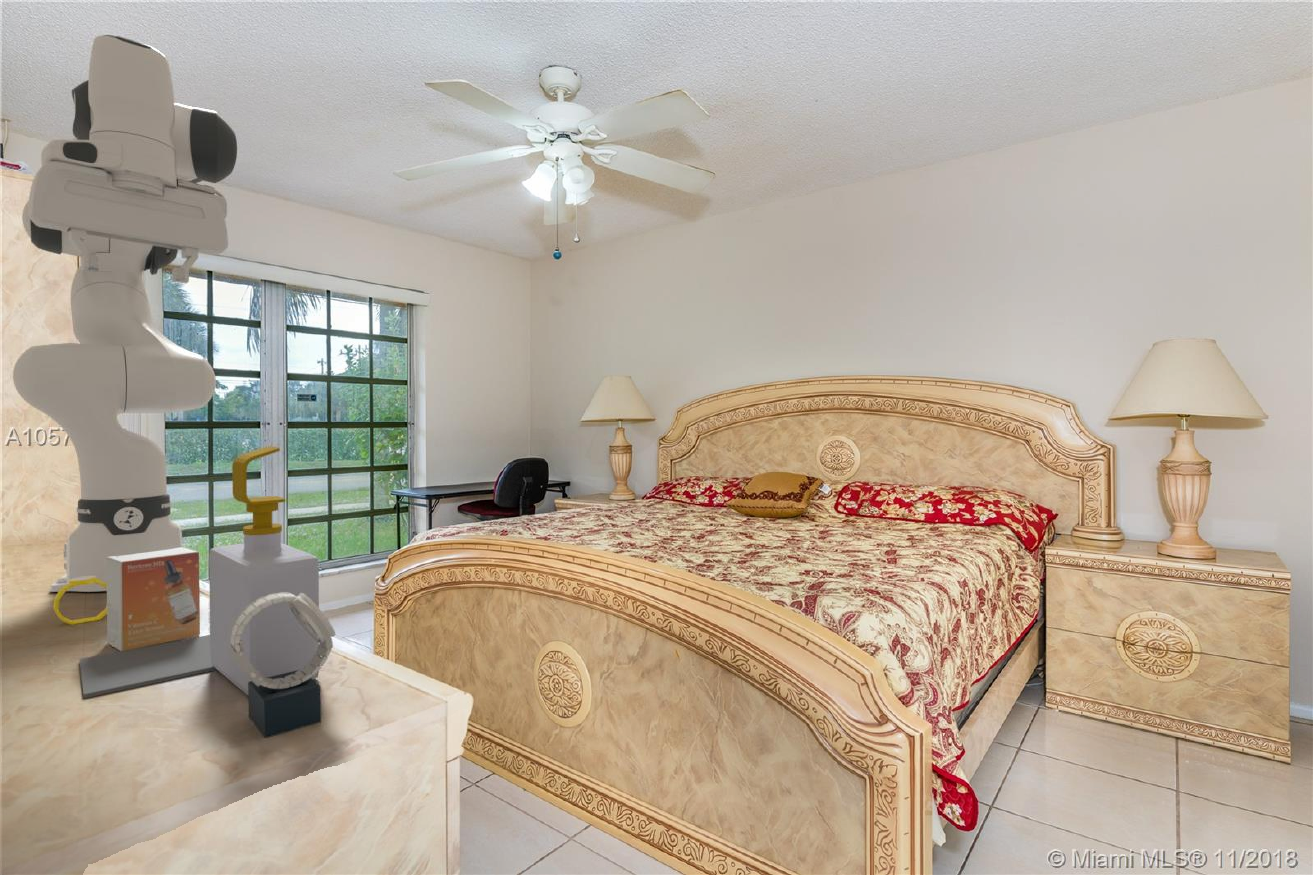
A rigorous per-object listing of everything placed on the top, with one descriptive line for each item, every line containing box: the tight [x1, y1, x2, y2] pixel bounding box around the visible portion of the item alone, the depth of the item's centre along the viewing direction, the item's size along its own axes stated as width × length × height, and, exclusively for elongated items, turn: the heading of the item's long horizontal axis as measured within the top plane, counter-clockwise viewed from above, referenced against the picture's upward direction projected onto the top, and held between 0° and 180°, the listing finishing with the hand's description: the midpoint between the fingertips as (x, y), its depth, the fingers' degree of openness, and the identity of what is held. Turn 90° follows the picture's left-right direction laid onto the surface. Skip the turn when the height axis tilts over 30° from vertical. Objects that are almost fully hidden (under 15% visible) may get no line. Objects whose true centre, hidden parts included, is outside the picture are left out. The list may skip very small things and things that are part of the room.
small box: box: [106, 547, 201, 652], centre depth 80 cm, size 8×6×10 cm
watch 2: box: [229, 592, 336, 739], centre depth 58 cm, size 6×8×11 cm
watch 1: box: [52, 575, 107, 626], centre depth 88 cm, size 6×3×6 cm, turn 138°
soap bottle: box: [208, 445, 320, 696], centre depth 68 cm, size 12×7×23 cm, turn 49°
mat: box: [78, 634, 218, 699], centre depth 73 cm, size 13×14×1 cm
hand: (137, 276), depth 86 cm, fingers open, 8 cm apart
